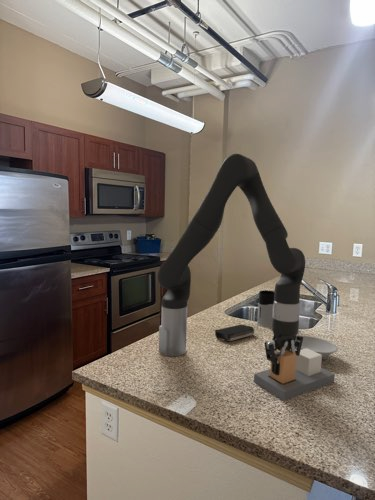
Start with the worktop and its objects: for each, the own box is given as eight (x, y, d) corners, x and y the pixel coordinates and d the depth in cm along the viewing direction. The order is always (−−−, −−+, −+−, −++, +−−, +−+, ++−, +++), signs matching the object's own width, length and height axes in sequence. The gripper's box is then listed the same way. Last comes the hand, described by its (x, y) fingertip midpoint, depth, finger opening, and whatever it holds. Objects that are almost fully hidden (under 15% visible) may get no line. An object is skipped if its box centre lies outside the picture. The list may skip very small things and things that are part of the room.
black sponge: (226, 344, 133) (227, 335, 133) (213, 337, 140) (213, 328, 140) (256, 336, 143) (256, 328, 142) (241, 330, 150) (242, 322, 149)
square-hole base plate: (283, 400, 94) (285, 373, 93) (253, 381, 104) (255, 356, 103) (334, 381, 105) (336, 357, 104) (302, 366, 115) (304, 343, 115)
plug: (282, 383, 98) (284, 357, 97) (270, 376, 102) (271, 350, 101) (294, 379, 101) (296, 353, 100) (281, 372, 105) (283, 347, 104)
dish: (279, 354, 124) (279, 341, 124) (296, 344, 135) (297, 331, 134) (327, 371, 112) (328, 356, 112) (343, 358, 123) (344, 344, 122)
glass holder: (278, 327, 154) (280, 294, 152) (247, 327, 152) (249, 294, 151) (272, 321, 162) (273, 290, 160) (242, 321, 161) (244, 290, 159)
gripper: (277, 324, 92) (274, 383, 94) (312, 316, 100) (309, 371, 102) (258, 316, 99) (255, 372, 101) (292, 309, 106) (289, 362, 108)
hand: (282, 371), depth 101 cm, fingers closed on plug, 5 cm apart
